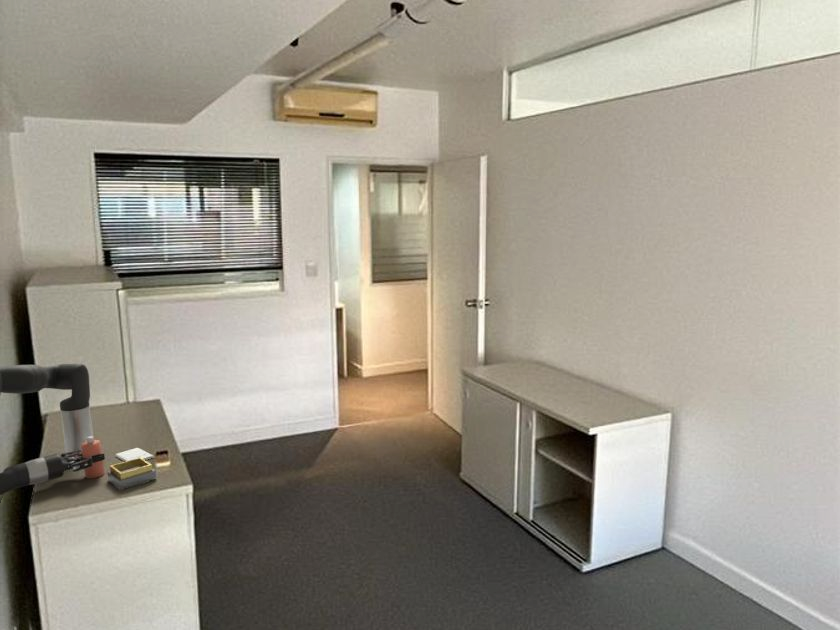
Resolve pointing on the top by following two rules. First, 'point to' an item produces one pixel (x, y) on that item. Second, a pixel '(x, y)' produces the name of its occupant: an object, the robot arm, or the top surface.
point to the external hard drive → (134, 455)
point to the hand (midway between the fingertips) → (100, 453)
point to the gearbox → (131, 473)
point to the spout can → (92, 449)
